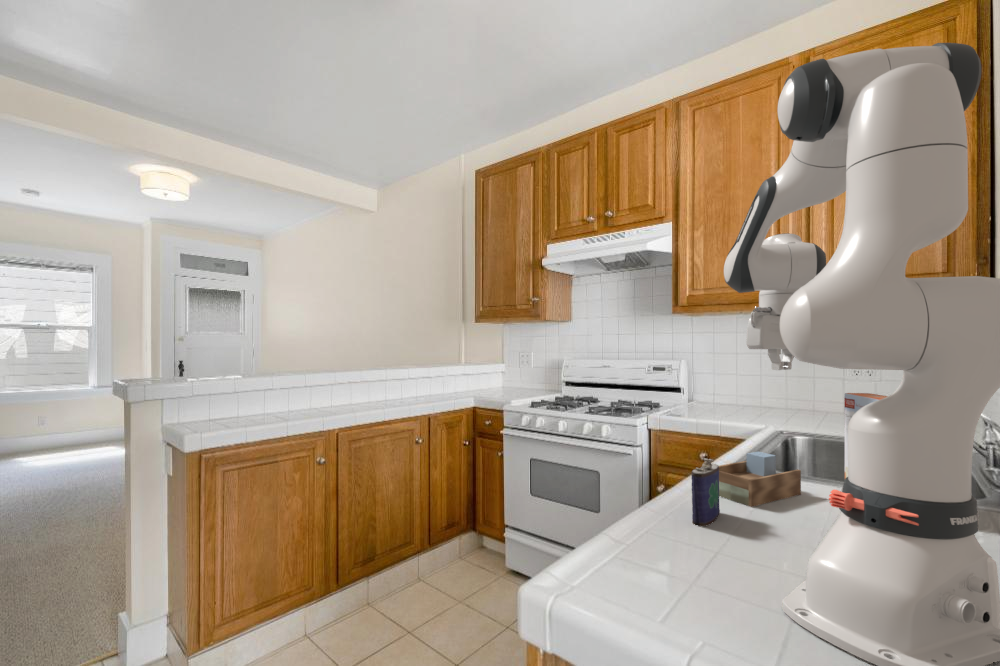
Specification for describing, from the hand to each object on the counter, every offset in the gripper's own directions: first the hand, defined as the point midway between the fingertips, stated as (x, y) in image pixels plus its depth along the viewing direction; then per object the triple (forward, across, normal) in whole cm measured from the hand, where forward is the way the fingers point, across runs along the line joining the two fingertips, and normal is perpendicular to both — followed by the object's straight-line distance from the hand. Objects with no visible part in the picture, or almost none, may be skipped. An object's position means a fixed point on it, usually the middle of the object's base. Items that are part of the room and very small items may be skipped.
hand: (781, 369), depth 106 cm
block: (+22, -8, 0) cm, 23 cm away
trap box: (+25, -13, -2) cm, 28 cm away
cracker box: (+25, +4, -17) cm, 31 cm away
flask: (+25, -34, -7) cm, 43 cm away
